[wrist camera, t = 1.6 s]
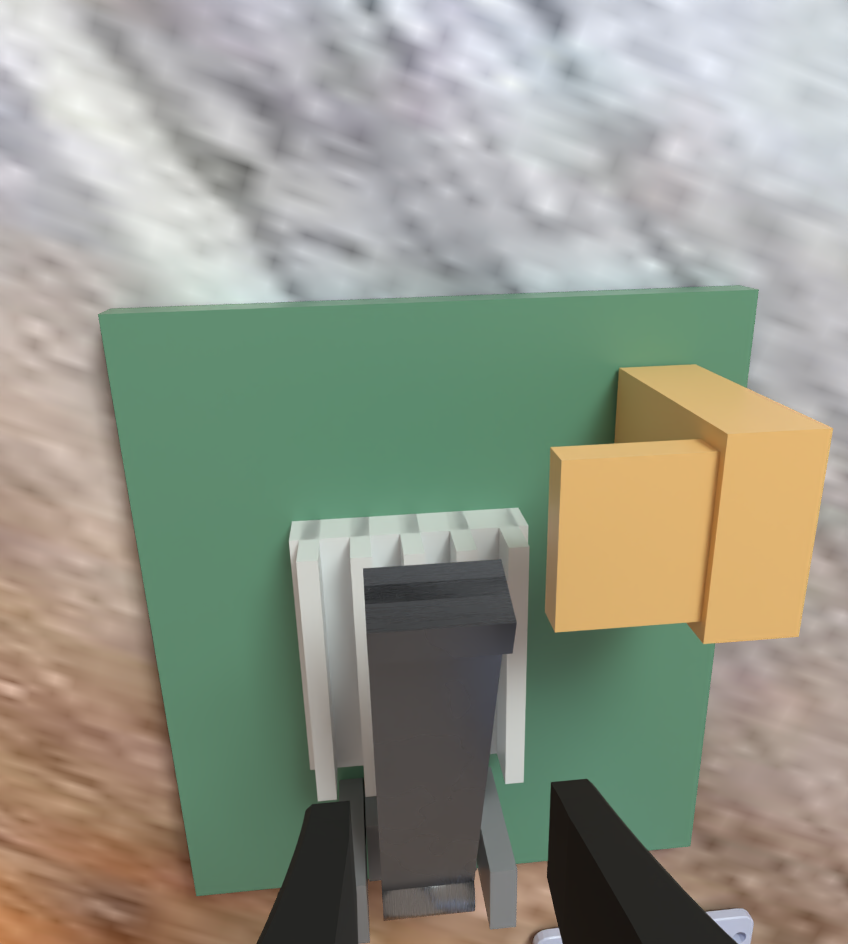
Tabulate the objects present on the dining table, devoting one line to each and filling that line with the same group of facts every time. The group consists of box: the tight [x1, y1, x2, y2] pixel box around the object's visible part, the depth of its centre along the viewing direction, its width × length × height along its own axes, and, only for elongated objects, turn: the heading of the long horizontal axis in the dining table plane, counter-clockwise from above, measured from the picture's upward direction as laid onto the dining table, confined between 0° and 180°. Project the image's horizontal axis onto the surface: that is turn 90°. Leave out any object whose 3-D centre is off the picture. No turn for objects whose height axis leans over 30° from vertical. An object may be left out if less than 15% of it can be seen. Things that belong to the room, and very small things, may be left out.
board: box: [98, 285, 759, 944], centre depth 20 cm, size 18×16×5 cm
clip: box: [545, 364, 833, 644], centre depth 17 cm, size 4×5×6 cm
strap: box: [363, 559, 517, 921], centre depth 17 cm, size 13×2×2 cm, turn 2°
